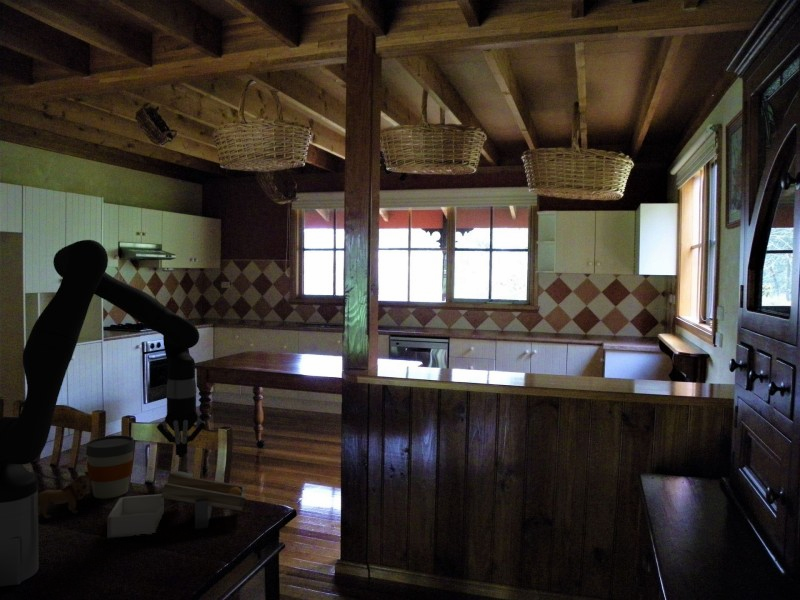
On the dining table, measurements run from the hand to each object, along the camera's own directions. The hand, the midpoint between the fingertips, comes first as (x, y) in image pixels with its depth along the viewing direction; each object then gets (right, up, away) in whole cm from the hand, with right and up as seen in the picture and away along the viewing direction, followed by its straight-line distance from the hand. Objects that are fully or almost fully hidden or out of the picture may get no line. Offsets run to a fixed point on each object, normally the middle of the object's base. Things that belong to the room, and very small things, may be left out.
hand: (181, 456), depth 152 cm
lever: (+8, -9, -5) cm, 13 cm away
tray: (-6, -14, -13) cm, 20 cm away
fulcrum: (+9, -14, -9) cm, 19 cm away
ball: (+17, -8, -7) cm, 20 cm away
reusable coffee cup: (-24, -13, +8) cm, 28 cm away
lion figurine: (-29, -13, -6) cm, 33 cm away
